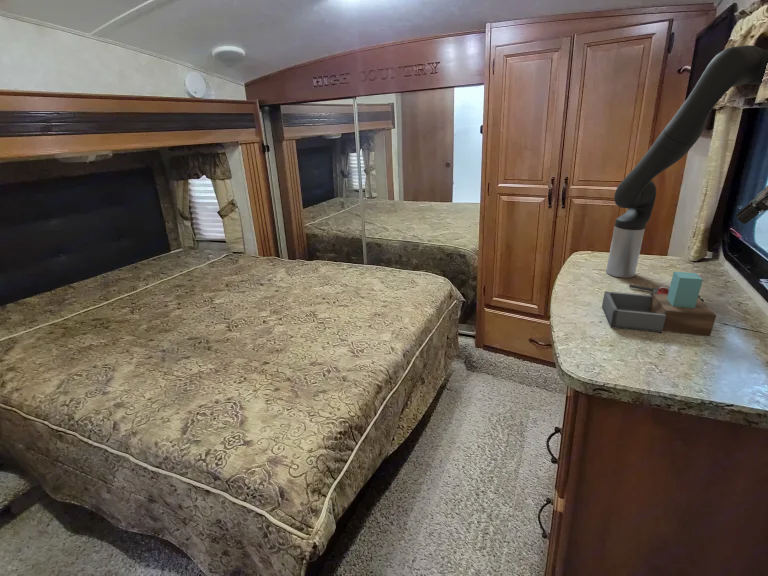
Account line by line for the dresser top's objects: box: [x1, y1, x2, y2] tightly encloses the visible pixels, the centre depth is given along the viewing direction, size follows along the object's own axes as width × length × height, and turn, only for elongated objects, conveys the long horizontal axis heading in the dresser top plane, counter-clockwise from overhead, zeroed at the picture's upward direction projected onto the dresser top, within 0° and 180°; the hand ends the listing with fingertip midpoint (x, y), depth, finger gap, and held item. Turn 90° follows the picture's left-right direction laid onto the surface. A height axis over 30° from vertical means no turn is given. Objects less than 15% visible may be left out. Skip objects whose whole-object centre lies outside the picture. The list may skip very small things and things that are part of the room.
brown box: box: [649, 293, 717, 337], centre depth 111 cm, size 12×11×6 cm
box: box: [601, 291, 666, 334], centre depth 114 cm, size 14×12×5 cm
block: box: [667, 271, 704, 308], centre depth 108 cm, size 5×5×8 cm
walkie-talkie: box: [628, 284, 705, 303], centre depth 127 cm, size 9×4×20 cm
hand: (739, 219), depth 101 cm, fingers open, 8 cm apart
